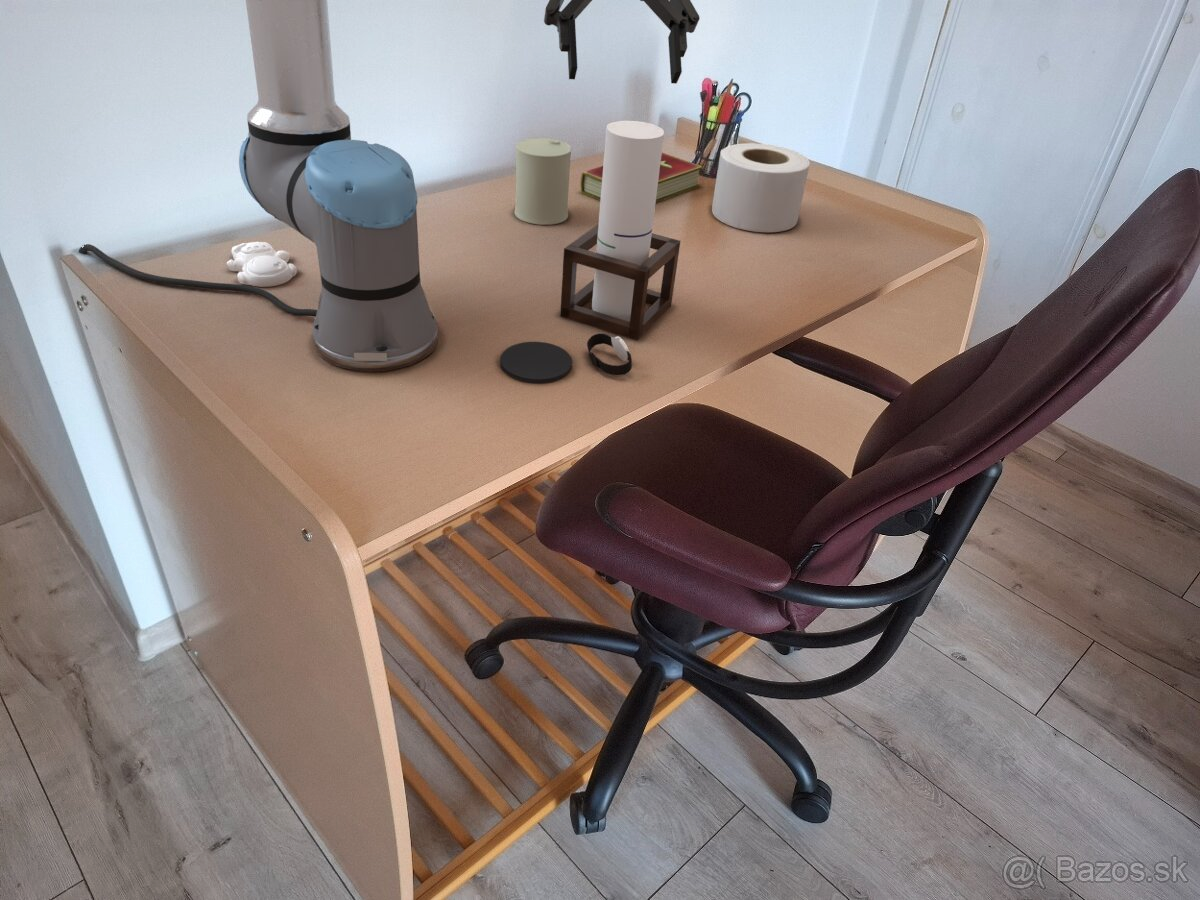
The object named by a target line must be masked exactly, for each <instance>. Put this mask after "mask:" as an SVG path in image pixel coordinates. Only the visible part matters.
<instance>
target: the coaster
mask: <svg viewBox="0 0 1200 900" xmlns="http://www.w3.org/2000/svg"><path fill="white" fill-rule="evenodd" d="M499 361H500V362H499V363H500V367H501V369H502V371H503V372H504V373H505V374H506V375H507V376H509V377H511V378H513V379H514V380H518V381H520V382H525V383H531V384H545V383H552V382H555V381H559V380H561V379H563V378H565V377H566V376H568V374H569V373H570V372H571V370H572V368H573V358H572V356H571V355H570V353H569V352H568V351H566V349H564V348H562V347H560V346H558V345H556V344H553V343H549V342H544V341H526V342H525V341H523V342H519V343H516V344H513V345H511V346H508V347H507V348H506V349H505V350H504V351H503V352H502V353H501V354H500V359H499Z"/></svg>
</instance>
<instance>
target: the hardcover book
mask: <svg viewBox="0 0 1200 900" xmlns="http://www.w3.org/2000/svg"><path fill="white" fill-rule="evenodd" d="M703 167H704V166H702V165H700V164H697V163H694V162H691V161H688V160H685V159H683V158H679V157H676V156H674V155H671V154H668V153H665V152H662V154H661V162H660V171H659V179H658V187H657V195H656V203H655V204H658V203H660V202H663V201H665V200H667V199H668V200H669V199H671V198H674V197H676V196H679V195H682V194H684V193H685V194H686V193H687V192H690V191H693V190H696V189H698V188H700V187H701V184H698V183H699V176H700V175H699V174H700V171H701V170H703ZM602 176H603V165H601V166H597V167H595V168H591V169H588V170H585V171H583V172H582V173H581V175H580V193H581V194H582V195H585V196H587V197H590V198H592V199H595V200H597V201H599V202H600V200H601V188H602Z"/></svg>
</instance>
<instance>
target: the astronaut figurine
mask: <svg viewBox="0 0 1200 900" xmlns="http://www.w3.org/2000/svg"><path fill="white" fill-rule="evenodd" d="M231 255H232V258H233V259H229V260H228V261H227V262H226V267H227V268H228V270H229V271H231V272H237V281H238V283H239V284H240V285H245V286H251V287H257V288H260V287H261V288H266V287H268V288H269V287H275V286H280V285H282V284H285V283H287V282H289V281H290V280H292V278H293V277H295V276H296V275H297V272H298V270H297V267H296V265H294V264H293V263H288V262H289V261H290V257H291V254H290V253H289V252H288V250H287V251H286V250H280V249H279V250H278V251H276V250H275V249H274V248H273V246H272V245H271V244H270V243H268V242H267V241H250V242H242V243H240V244H238V245H237V244H236V245H233V247H231Z"/></svg>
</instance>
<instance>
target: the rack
mask: <svg viewBox="0 0 1200 900" xmlns="http://www.w3.org/2000/svg"><path fill="white" fill-rule="evenodd" d="M598 225H599V223H598V224H596V225H595V226H594V227H592V228H591V229H589V230H588V231H587V232H585V233H584V234H582V235H580V236H579V237H577V238H576V239H575V240H574V241H572V242H571V243H569V244H568V245H566V246H565V247H564V248H563V258H562V259H563V260H562V279H561V294H560V295H561V297H560V315H559V317H561V318H566V319H568V320H572V321H574V322H578V323H580V324H584V325H587V326H591V327H594V328H597V329H600V330H603V331H606V332H610V333H613V334H616V335H618V336H622V337H626V338H629V339H632V340H635V341H639V339H641V337H642V336H643V335H644V334H645V333H646V332H647V331H648V330H649V329H650V328H651V327H652V326H653V325H654V324H655V323H656V322H657V321H658V320H659V319H661V317H662V316H663V315H664V314H665V313H666V312H667V311H668V310H669V309H670V308H671V307H672V303H673V295H674V289H675V283H676V275H677V269H678V262H679V254H680V249H681V240H679V239H675V238H671V237H667V236H664V235H660V234H657V233H653V232H652V236H651V244H650V249H652V250H656V251H655V252H653V254H651V255H649V258H648V259H647V260H646V261H645V262H643V263H642V264H641V265H638V264H634V263H631V262H627V261H624V260H620V259H617V258H613V257H610V256H606V255H602V254H599V253H596V251H591V249H592V248H594V247H595V246H597V237H598ZM578 265H581V266H584V267H588V268H591V269H594V270H595V269H598V270H601V271H605V272H608V273H612V274H615V275H619V276H622V277H626V278H629V279H632V280H635V281H634V290H633V299H632V308H631V317H630V322H629V321H625V320H622V319H619V318H616V317H612V316H609V315H606V314H603V313H599V312H596V311H593V310H592V309H590V308H587V307H585V306H587V304H588V303H590V302H591V301H592V298H593V286H594V278H593V279H592V280H590V281H589V282H588V283H587V284H586V285H585V286H583V287H582V288H581V289H579V290H578V291H577V292H576V284H577V271H578ZM661 268H663V271H662V273H663V274H662V280H661V287H660V291H655V290H653V289H648V287H649V286H648V285H649V279H651V278H652V277H653V276H654V275H655V274H656V273H657V272H658V271H659V270H660V269H661ZM646 305H650V307H648V308H647V309H646Z"/></svg>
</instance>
